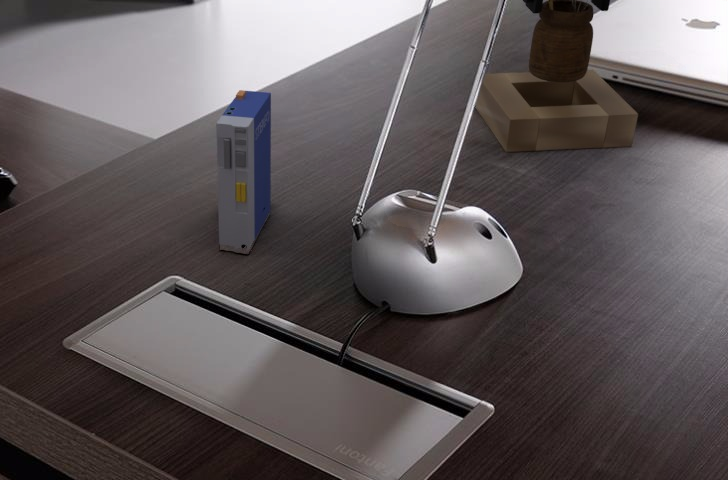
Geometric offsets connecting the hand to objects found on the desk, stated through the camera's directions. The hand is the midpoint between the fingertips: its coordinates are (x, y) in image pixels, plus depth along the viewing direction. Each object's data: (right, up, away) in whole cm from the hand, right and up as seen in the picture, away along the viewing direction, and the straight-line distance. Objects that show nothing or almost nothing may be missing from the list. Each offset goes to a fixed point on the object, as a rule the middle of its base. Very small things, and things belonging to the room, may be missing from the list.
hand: (566, 6), depth 108 cm
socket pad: (0, -10, +7) cm, 12 cm away
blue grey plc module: (-32, -24, -12) cm, 42 cm away
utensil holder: (0, -6, +4) cm, 7 cm away
